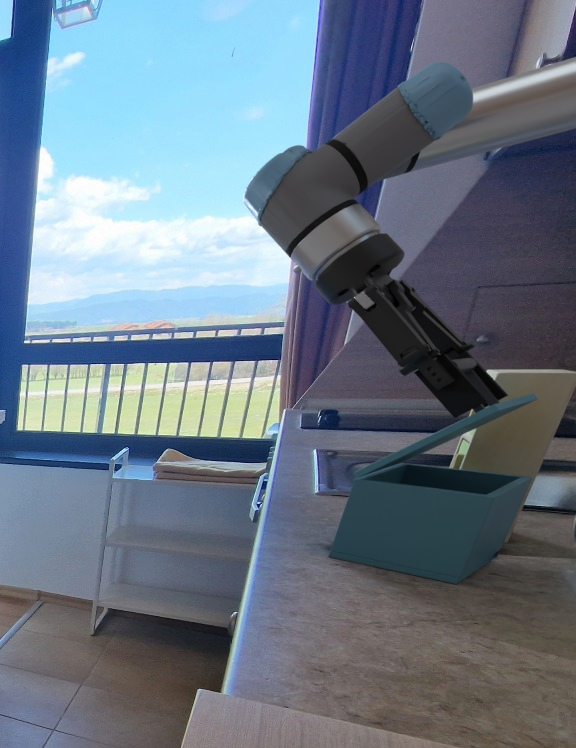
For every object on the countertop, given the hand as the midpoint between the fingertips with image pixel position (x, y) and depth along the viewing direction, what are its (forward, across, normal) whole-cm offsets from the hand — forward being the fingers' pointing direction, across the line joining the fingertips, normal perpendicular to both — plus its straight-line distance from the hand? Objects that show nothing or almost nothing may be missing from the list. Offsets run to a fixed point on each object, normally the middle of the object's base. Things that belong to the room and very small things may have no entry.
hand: (481, 406), depth 69 cm
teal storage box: (+12, 0, -13) cm, 18 cm away
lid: (+1, 0, -4) cm, 4 cm away
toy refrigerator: (+13, -14, -13) cm, 23 cm away
